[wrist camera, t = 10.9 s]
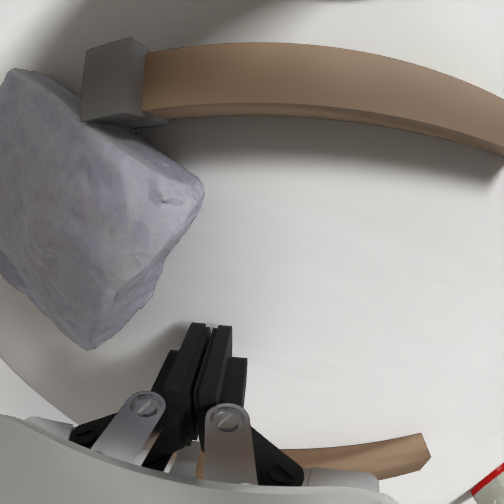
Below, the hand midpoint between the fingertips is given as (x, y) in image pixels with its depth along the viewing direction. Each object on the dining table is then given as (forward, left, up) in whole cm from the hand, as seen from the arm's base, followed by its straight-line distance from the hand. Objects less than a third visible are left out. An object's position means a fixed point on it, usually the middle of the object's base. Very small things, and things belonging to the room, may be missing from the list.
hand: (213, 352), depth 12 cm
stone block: (-6, -7, -2) cm, 10 cm away
